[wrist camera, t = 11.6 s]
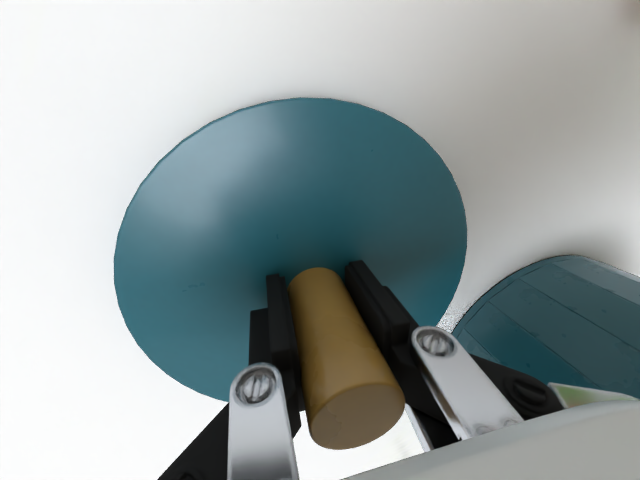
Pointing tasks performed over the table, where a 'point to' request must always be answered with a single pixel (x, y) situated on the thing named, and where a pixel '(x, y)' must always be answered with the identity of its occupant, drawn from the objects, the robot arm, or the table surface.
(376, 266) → the lid
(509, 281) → the tin
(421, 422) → the robot arm
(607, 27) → the table surface
